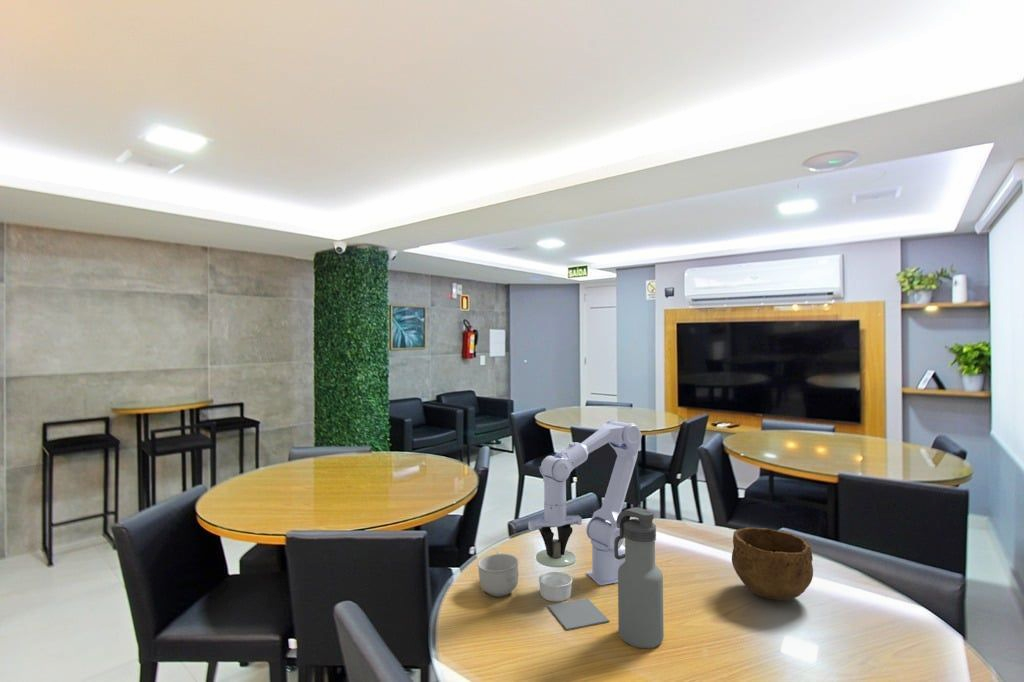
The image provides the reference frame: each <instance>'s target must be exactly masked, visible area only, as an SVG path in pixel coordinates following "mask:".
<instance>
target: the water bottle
mask: <svg viewBox="0 0 1024 682" xmlns="http://www.w3.org/2000/svg"><path fill="white" fill-rule="evenodd" d="M631 517H633V518H631ZM654 519H655V513H654V512H653V511H652V510H648V509H645V508H641V507H631V508H627V509H624V510H621V513H619V515H618V517H617V522H616V523H617V528H620V536H617V537H616V538H615V541H614V556H615V558H616V559H618V560H620V559H623V558H625V562H624V563H622V564H621V565H620V567H619V569H618V582H617V592H618V593H617V603H618V604H617V605H618V607H617V610H618V616H617V617H618V620H617V621H618V622H617V623H618V634H619V637H620V638H621V640H623V642H625V643H627V644H628V645H630V646H633V647H635V648H639V649H641V648H642V649H650V648H655V647H658V646H659V645H661V644H662V642H663V641H664V636H665V635H664V632H665V631H664V630H665V629H664V577H663V571H662V570H661V569H660V567H658V565H657V564H656V540H657V526H656V524H655V523H653V521H654ZM622 538H624V547H625V554H623V555H620V556H619V555H618V542H619V540H620V539H622Z"/></svg>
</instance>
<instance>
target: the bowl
mask: <svg viewBox="0 0 1024 682" xmlns="http://www.w3.org/2000/svg"><path fill="white" fill-rule="evenodd" d="M732 535H733V536H732V546H733V549H732V553H731V564H732V567H733V569H734V571H735V573H736V575H737V576H738V578H739V579H740V581H741V582H742V583H743V585H744V586H745V587H746V588H747V590H749V591H750V592H752V593H753V594H755V595H757V596H758V597H759V596H760V598H767V599H768V600H777V601H778V600H779V601H783V600H790V599H795V598H797V597H799V596H801V595H802V594H803V593H804V592H805V591H806V590H807V588H808V587H809V586H810V584H811V583H812V581H813V577H814V566H813V552H812V545H811V544H810V542H808V541H807V540H806V539H805V538H803V537H802V536H799V535H796V534H793V533H792V532H790V533H789V532H787V531H783V530H774V529H772V528H767V527H763V528H761V527H744V528H743V527H742V528H738V529H736V530H735V531H733V534H732Z"/></svg>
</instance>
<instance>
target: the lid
mask: <svg viewBox="0 0 1024 682" xmlns="http://www.w3.org/2000/svg"><path fill="white" fill-rule="evenodd" d="M552 548H553V555H552V557H549V556H548V555H547V551H546V549H542V550H541V551H539V552H537V553H536V555H535V560H536V562H537V563H538V564H539V565H542V566H545V567H549V568H566V567H570V566H572V565H573V564H575V562H577V556H576V555H575V554H574V553H573V552H572V551H569V550H566V549H565V553H564V555H561V541H560V540H558V538H556V539H555V538H553V543H552Z"/></svg>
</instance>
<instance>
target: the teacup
mask: <svg viewBox="0 0 1024 682" xmlns="http://www.w3.org/2000/svg"><path fill="white" fill-rule="evenodd" d="M477 567H478V579H479V586H480V587H481V589H482V590H483V591H484V592H486V593H487V594H488V595H490V596H493V597H504V596H508V595H509V594H510V593H512V592H513V590H515V589H516V587H517V586H518V583H519V559H518V558H517V557H516V556H515V555H512V554H508V553H503V552H502V551H501V550H500V551H496V553H493V554H490V555H486V556H484V557H482V558H480V559H479V560H478V562H477Z"/></svg>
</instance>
